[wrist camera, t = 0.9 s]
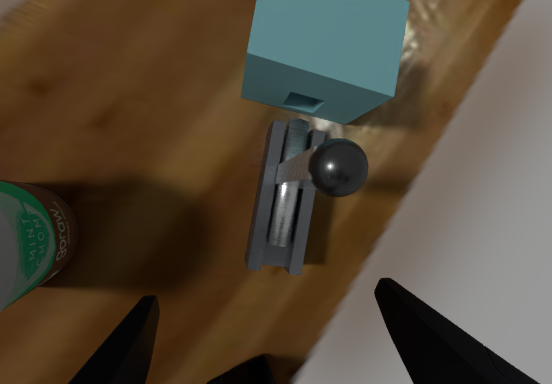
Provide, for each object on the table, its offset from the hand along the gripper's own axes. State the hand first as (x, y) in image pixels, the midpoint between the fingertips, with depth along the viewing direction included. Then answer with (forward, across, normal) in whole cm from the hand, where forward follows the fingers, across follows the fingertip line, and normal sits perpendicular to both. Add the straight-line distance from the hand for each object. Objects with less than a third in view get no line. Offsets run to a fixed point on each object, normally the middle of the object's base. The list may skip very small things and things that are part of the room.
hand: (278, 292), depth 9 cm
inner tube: (+15, -4, +3) cm, 15 cm away
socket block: (+22, -6, -7) cm, 23 cm away
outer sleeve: (+16, -4, +4) cm, 16 cm away
